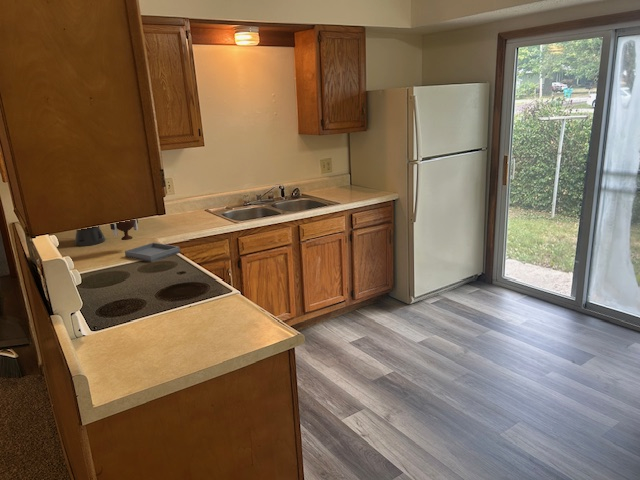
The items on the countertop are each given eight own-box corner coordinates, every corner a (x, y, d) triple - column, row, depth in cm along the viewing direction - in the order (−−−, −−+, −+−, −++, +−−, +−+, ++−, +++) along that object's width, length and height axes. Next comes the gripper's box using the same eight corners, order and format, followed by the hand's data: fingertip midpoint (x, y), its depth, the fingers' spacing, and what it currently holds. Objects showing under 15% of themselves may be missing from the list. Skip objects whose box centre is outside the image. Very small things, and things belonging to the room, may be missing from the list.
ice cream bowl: (130, 241, 239) (126, 212, 235) (110, 241, 242) (105, 212, 237) (142, 235, 249) (138, 207, 245) (123, 235, 252) (118, 207, 247)
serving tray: (125, 256, 235) (124, 251, 235) (154, 247, 249) (153, 242, 248) (151, 262, 224) (150, 256, 224) (180, 252, 238) (179, 246, 237)
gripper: (101, 195, 227) (109, 239, 233) (143, 186, 246) (149, 228, 252) (92, 194, 231) (100, 237, 237) (134, 186, 250) (140, 226, 256)
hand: (125, 232), depth 245 cm, fingers closed on ice cream bowl, 11 cm apart
